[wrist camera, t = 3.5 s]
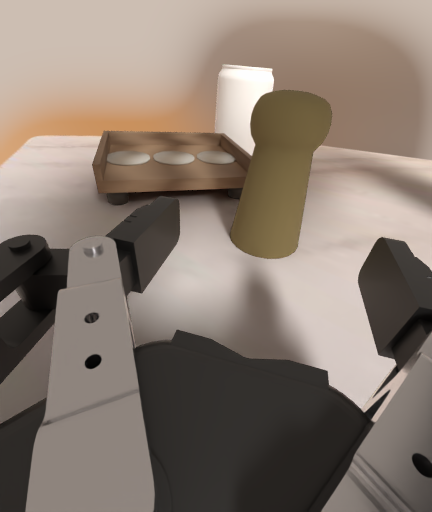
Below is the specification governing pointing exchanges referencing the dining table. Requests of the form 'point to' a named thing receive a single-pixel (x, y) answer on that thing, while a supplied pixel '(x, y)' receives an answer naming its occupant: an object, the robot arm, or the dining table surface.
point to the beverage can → (240, 101)
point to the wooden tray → (168, 163)
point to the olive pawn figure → (279, 171)
